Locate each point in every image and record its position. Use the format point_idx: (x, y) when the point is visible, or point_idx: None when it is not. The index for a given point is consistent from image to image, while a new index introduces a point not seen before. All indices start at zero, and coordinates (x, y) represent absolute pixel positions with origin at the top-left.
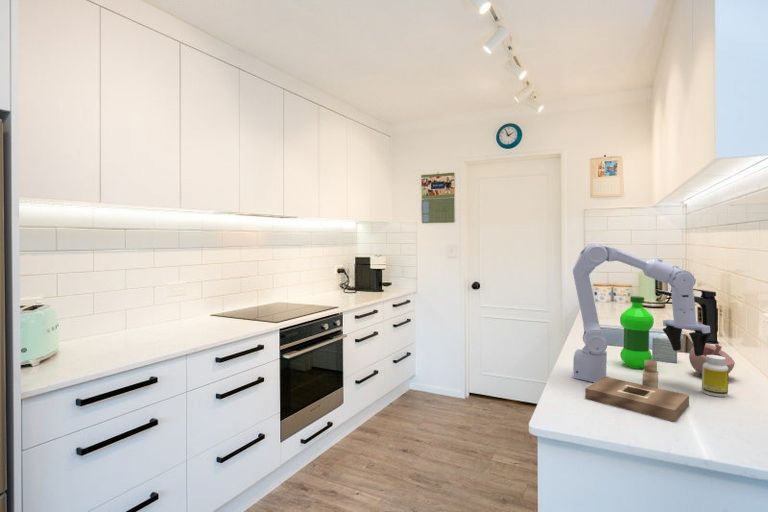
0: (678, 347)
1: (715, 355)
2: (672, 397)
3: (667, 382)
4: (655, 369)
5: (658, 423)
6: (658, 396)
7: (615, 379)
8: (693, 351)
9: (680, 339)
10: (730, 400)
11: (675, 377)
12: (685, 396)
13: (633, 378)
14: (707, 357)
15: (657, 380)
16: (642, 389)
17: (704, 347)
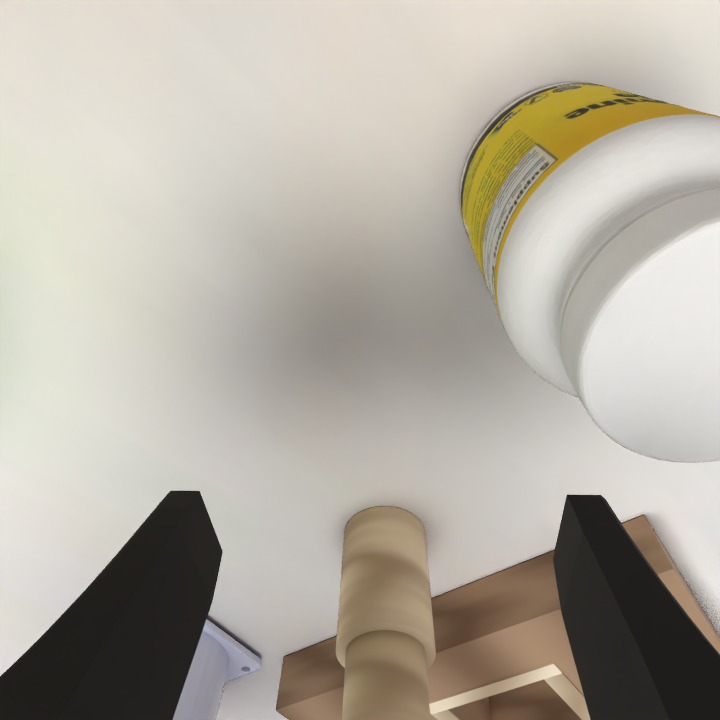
0: (193, 549)
1: (664, 270)
2: None
3: (240, 336)
4: (426, 674)
5: None
6: None
7: (329, 699)
8: None
9: (108, 639)
10: None
11: (99, 165)
12: (677, 596)
13: (150, 482)
14: (656, 456)
15: (427, 590)
16: (507, 689)
17: (683, 609)
